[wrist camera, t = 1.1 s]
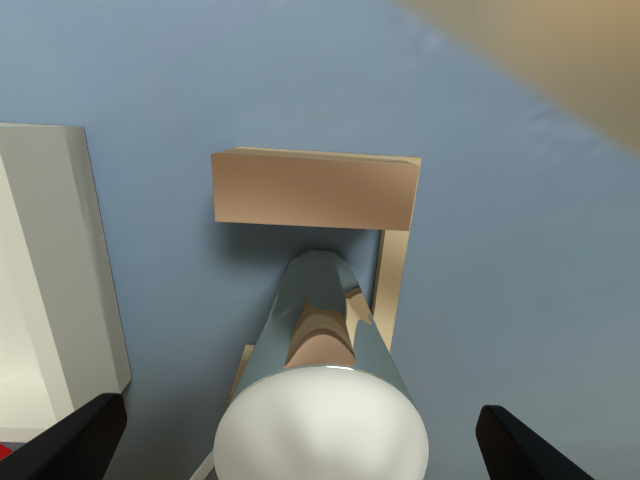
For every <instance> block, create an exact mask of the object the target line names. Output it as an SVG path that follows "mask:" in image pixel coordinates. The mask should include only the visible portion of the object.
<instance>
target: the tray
mask: <svg viewBox="0 0 640 480" xmlns="http://www.w3.org/2000/svg"><path fill="white" fill-rule="evenodd" d="M131 379H132V377H131V372H130V367H129V362H128V356H127V351H126V346H125V341H124V336H123V330H122V325H121V320H120V315H119V310H118V305H117V299H116V294H115V289H114V284H113V279H112V273H111V268H110V263H109V258H108V253H107V247H106V242H105V237H104V232H103V227H102V221H101V216H100V211H99V206H98V201H97V196H96V190H95V185H94V180H93V175H92V170H91V164H90V159H89V154H88V149H87V144H86V138H85V133H84V128H83V127H79V126H63V125H46V124H29V123H12V122H0V442H29V441H30V440H32V439H33V438H35V437H36V436H38V435H39V434H41V433H42V432H44V431H45V430H47V429H48V428H50V427H51V426H53V425H54V424H56V423H57V422H59V421H60V420H62V419H63V418H65V417H66V416H68V415H69V414H71V413H72V412H74V411H75V410H77V409H79V408H80V407H82V406H83V405H85V404H86V403H88V402H89V401H91V400H92V399H94V398H95V397H97V396H98V395H100V394H102V393H120V394H121V392H122V391H123V390H124V388H125V387H126V386H127V384H128V383H129V382H130V380H131Z"/></svg>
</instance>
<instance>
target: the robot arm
mask: <svg viewBox="0 0 640 480" xmlns="http://www.w3.org/2000/svg"><path fill="white" fill-rule="evenodd" d="M126 424H127V414H126V409H125V405H124V400H123V396H122V395H121V394H120V393H102V394H100V395H98V396H97V397H95V398H94V399H92V400H91V401H89V402H88V403H86V404H85V405H83V406H82V407H80V408H79V409H77V410H75V411H74V412H72V413H71V414H69V415H68V416H66V417H65V418H63V419H62V420H60V421H59V422H57V423H56V424H54V425H53V426H51V427H50V428H48V429H47V430H45V431H44V432H42V433H41V434H39V435H38V436H36V437H35V438H33V439H32V440H30V441H29V442H27V443H26V444H24V445H23V446H21V447H20V448H18V449H17V450H15V451H14V452H12V453H10V454H9V455H7V456H6V457H4V458H3V459H1V460H0V480H102V479H103V477H104V475H105V473H106V470H107V468H108V466H109V464H110V461H111V459H112V457H113V455H114V452H115V450H116V448H117V446H118V443H119V441H120V439H121V437H122V434H123V432H124V430H125V427H126ZM476 438H477V441H478V444H479V447H480V450H481V453H482V456H483V459H484V462H485V465H486V468H487V471H488V474H489V477H490V480H595V479H593V478H592V477H591V476H590V475H588V474H587V473H586V472H585V471H583V470H582V469H581V468H579V467H578V466H577V465H576V464H574V463H573V462H572V461H571V460H569V459H568V458H567V457H566V456H564V455H563V454H562V453H560V452H559V451H558V450H557V449H555V448H554V447H553V446H552V445H550V444H549V443H548V442H547V441H545V440H544V439H543V438H542V437H540V436H539V435H538V434H536V433H535V432H534V431H533V430H531V429H530V428H529V427H528V426H526V425H525V424H524V423H523V422H521V421H520V420H519V419H517V418H516V417H515V416H514V415H512V414H511V413H510V412H509V411H507V410H506V409H505V408H503V407H502V406H499V405H484V406H483V407H482V409H481V412H480V416H479V419H478V422H477V425H476Z"/></svg>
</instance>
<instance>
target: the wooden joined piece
mask: <svg viewBox="0 0 640 480" xmlns="http://www.w3.org/2000/svg"><path fill="white" fill-rule="evenodd" d="M211 160H212V176H213V192H214V209H215V221H216V222H236V223H256V224H275V225H295V226H315V227H335V228H354V229H374V230H382V233H381V241H380V248H379V256H378V263H377V271H376V279H375V286H374V294H373V301H372V309H371V314H372V316H373V319H374V321H375V323H376V325H377V328H378V330H379V332H380V334H381V336H382V339H383V341H384V343H385V345H386V347H387V349H388V351H389V353H390V347H391V341H392V335H393V329H394V322H395V316H396V310H397V304H398V298H399V292H400V286H401V280H402V274H403V268H404V262H405V256H406V250H407V244H408V238H409V232H410V225H411V219H412V213H413V207H414V201H415V195H416V189H417V183H418V177H419V171H420V165H421V158H418V157H405V156H388V155H371V154H354V153H337V152H320V151H303V150H286V149H268V148H251V147H237V148H233V149H229V150H225V151H221V152H217V153H213V154H211ZM254 346H255V345H245V348H244V351H243V355H242V358H241V361H240V364H239V367H238V370H237V373H236V376H235V379H234V382H233V386H232V389H231V392H230V395H229V398H228V401H227V404H226V405H227V406H228V404H229V402H230V400H231V397H232V395H233V393H234V391H235V388H236V386H237V384H238V382H239V379H240V377H241V375H242V373H243V370H244V368H245V366H246V364H247V362H248V359H249V357H250V355H251V353H252V350H253V348H254Z"/></svg>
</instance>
